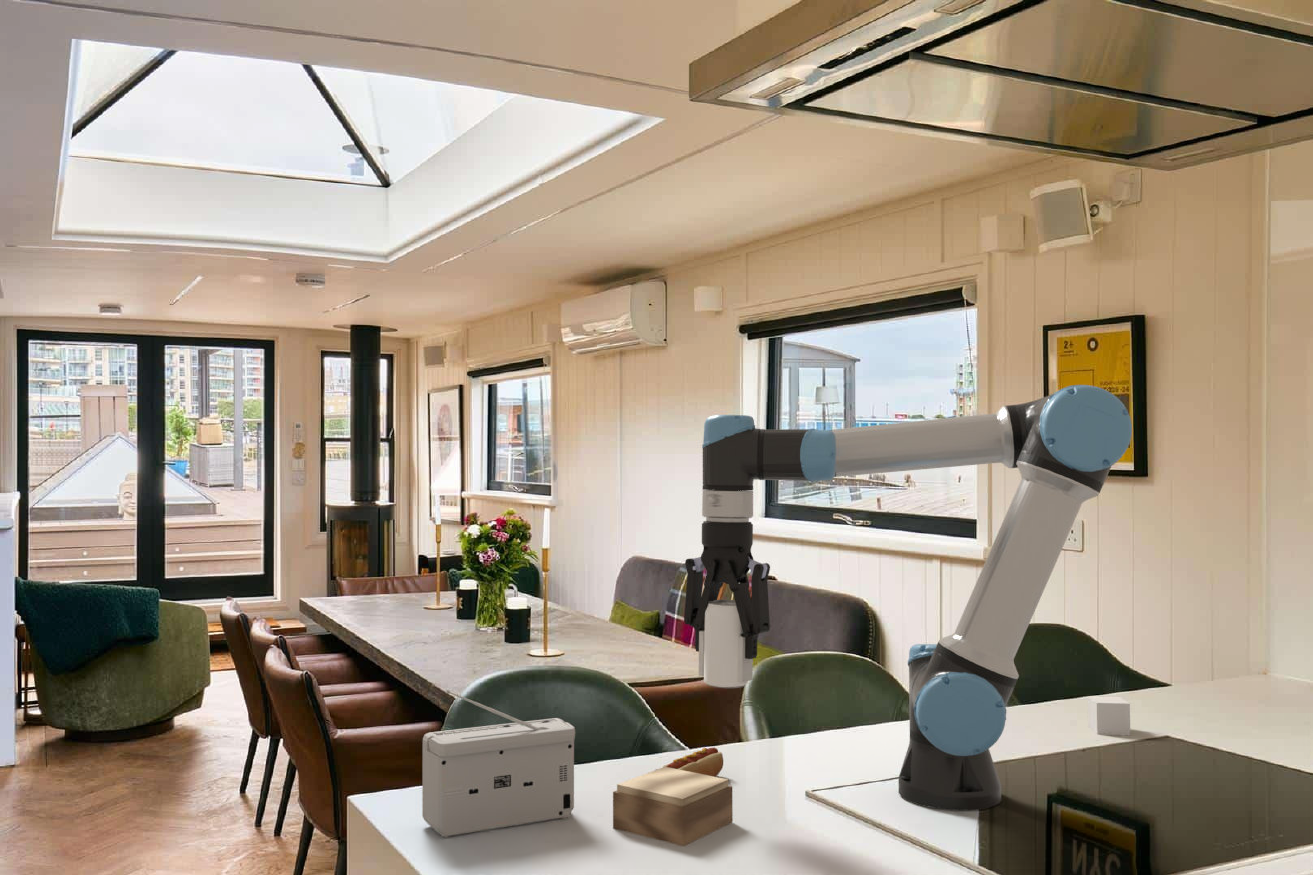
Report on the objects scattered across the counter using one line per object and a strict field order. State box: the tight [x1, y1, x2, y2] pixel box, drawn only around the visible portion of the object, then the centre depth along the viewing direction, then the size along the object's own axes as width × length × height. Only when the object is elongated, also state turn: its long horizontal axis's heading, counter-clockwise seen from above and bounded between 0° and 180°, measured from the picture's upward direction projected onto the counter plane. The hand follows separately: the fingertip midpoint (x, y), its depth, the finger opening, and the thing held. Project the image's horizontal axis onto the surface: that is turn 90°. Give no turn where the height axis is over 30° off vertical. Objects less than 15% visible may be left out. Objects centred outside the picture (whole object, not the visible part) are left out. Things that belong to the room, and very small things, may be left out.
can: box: [703, 599, 749, 689], centre depth 156 cm, size 6×6×12 cm
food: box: [661, 747, 724, 777], centre depth 169 cm, size 14×6×5 cm, turn 145°
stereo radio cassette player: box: [421, 689, 576, 839], centre depth 151 cm, size 21×8×20 cm, turn 117°
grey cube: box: [1087, 695, 1131, 736], centre depth 203 cm, size 6×6×6 cm
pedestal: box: [612, 766, 734, 847], centre depth 149 cm, size 12×12×6 cm
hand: (725, 677), depth 155 cm, fingers closed on can, 6 cm apart
